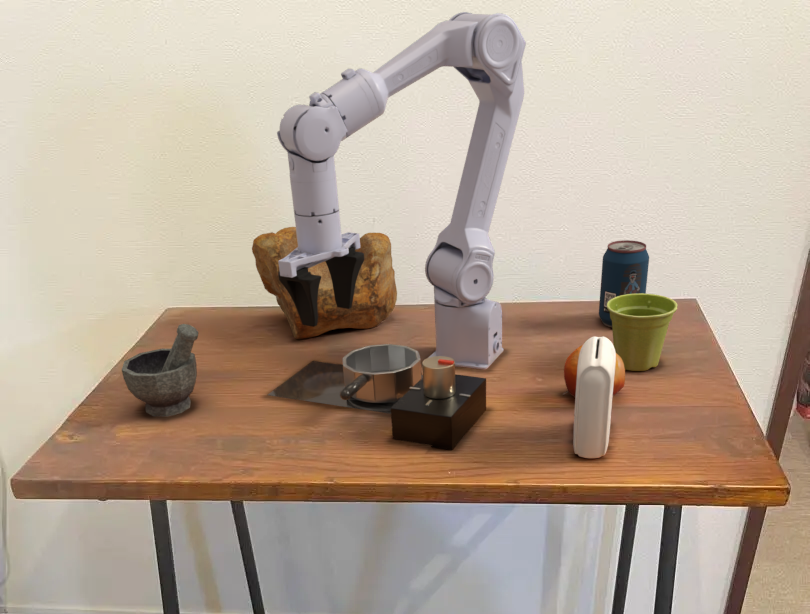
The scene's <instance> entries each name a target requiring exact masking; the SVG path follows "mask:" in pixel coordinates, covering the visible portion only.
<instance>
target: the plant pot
mask: <svg viewBox="0 0 810 614" xmlns="http://www.w3.org/2000/svg"><path fill="white" fill-rule="evenodd" d="M607 309H608V310H609V311H610V318H611V320H612V327H611V328H612V329H611V330H612V344H613V346H614V348H615V352H616V353H617V354H618V355H619V356H620V357H621V359H622V361H623V363H624V368H625V371H629V372H644V371H648V370H650V369H651V368H657V366H659V363H660V359H661V355H662V351H663V347H664V343H665V339H666V336H667V333H668V330H669V325H670V322H671V321H672V319H673V316H674V314H675V313H676V312H677V310H678V303H677V301H675V300H674V299H672V298H670V297H667V296H666V295H660V294H654V293H646V294H644V293H641V294H640V293H639V294H626V295H621V296H617V297H615V298H613V299H611V300H609V301H608V303H607Z"/></svg>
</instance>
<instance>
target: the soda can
mask: <svg viewBox="0 0 810 614" xmlns="http://www.w3.org/2000/svg"><path fill="white" fill-rule="evenodd" d="M649 263H650V255H649V253H648V249H647V244H646V243H644V242H642V241H638V240H625V239H624V240H615V241H611V242H609V243H608V244H607V247H606V250H605V252H604V254H603V255H602V262H601V274H600V275H601V276H600V277H601V278H600V290H599V303H598V304H599V305H598V316H599V318H600V320H601V322H602V324H603V325H604V326H606V327H609V328H612V320H611V318H610V311H609V310H608V309H607V303H608V301H609V300H611V299H613V298H615V297H617V296H621V295H626V294H639V293H640V294H641V293H644V294H647V285H648V274H649Z"/></svg>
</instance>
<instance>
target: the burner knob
mask: <svg viewBox="0 0 810 614" xmlns="http://www.w3.org/2000/svg"><path fill="white" fill-rule="evenodd" d="M428 357H429V356H428ZM428 357H427V358H425V359H423V360H422V361H421V369H422V375H423V390H424V395H425V396H427V397H429V398H434V399H443V398H448V397H451V396H453V395H454V394H455V392H456V388H455V374H456V366H455V361H454V359H452V358H450V357H446V356H434V357H429V358H428Z"/></svg>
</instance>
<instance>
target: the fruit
mask: <svg viewBox="0 0 810 614" xmlns="http://www.w3.org/2000/svg"><path fill="white" fill-rule="evenodd" d="M582 346H583V344H582V345H579V346H578V347H577V348H575V349H574V350H573V351H572V352H571V353H570V354H569V355H568V356H567V358H566V360H565V362H564V366H563V379H564V382H565V388H566V391H564V392H563V393H562V396H565V395H566V394H569V395H571V396H572V397H574V398H575V396H576V381H577V366H578V358H579V353H580V350H581V348H582ZM625 383H626V370H625V368H624V363H623V361H622V359H621V357H620V356H619V355H618V354H617V353H616V364H615V375H614V386H613V397H614V396H615V395H617V393H619V391H621V390H622V389H623V388H624V386H625Z"/></svg>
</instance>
